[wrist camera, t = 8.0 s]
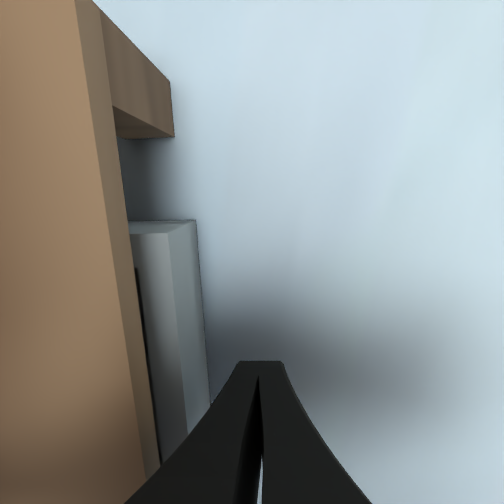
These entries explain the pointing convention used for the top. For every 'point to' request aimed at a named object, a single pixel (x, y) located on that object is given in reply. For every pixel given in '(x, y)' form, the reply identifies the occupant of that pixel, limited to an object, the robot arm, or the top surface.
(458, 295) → the top surface
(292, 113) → the top surface
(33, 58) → the shelf
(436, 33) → the top surface
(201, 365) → the tray
